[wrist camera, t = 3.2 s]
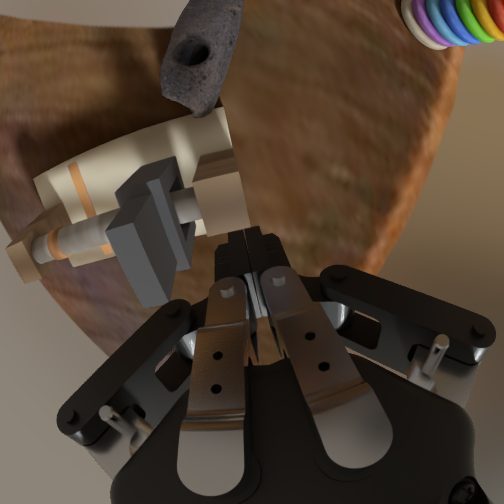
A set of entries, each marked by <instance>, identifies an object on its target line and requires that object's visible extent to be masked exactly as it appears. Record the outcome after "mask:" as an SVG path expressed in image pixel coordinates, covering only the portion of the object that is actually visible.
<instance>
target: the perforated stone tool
mask: <svg viewBox="0 0 504 504" xmlns="http://www.w3.org/2000/svg"><path fill="white" fill-rule="evenodd" d="M243 8H244V0H190V1H189V3H188V4H187V6H186V7H185V8H184V10H183V12H182V13H181V15H180V17H179V19H178V21H177V23H176V25H175V27H174V29H173V32H172V34H171V40H170V42H169V45H168V48H167V51H166V53H165V56H164V59H163V62H162V65H161V70H160V83H161V89H162V95H163V96H165V97H166V98H168V99H170V100H172V101H176V102H179V103H181V104H182V105H184V106H187V107H188V108H190V111H191V112H192V116H193V117H194V118H201V117H202V118H203V117H205V116H207V115H209V114H210V113H211V112H212V110H213V108H214V106H215V104H216V102H217V99H218V97H219V94H220V91H221V88H222V84H223V82H224V80H225V77H226V74H227V71H228V68H229V66H230V62H231V59H232V56H233V52H234V49H235V46H236V42H237V39H238V35H239V31H240V26H241V21H242V15H243Z"/></svg>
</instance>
